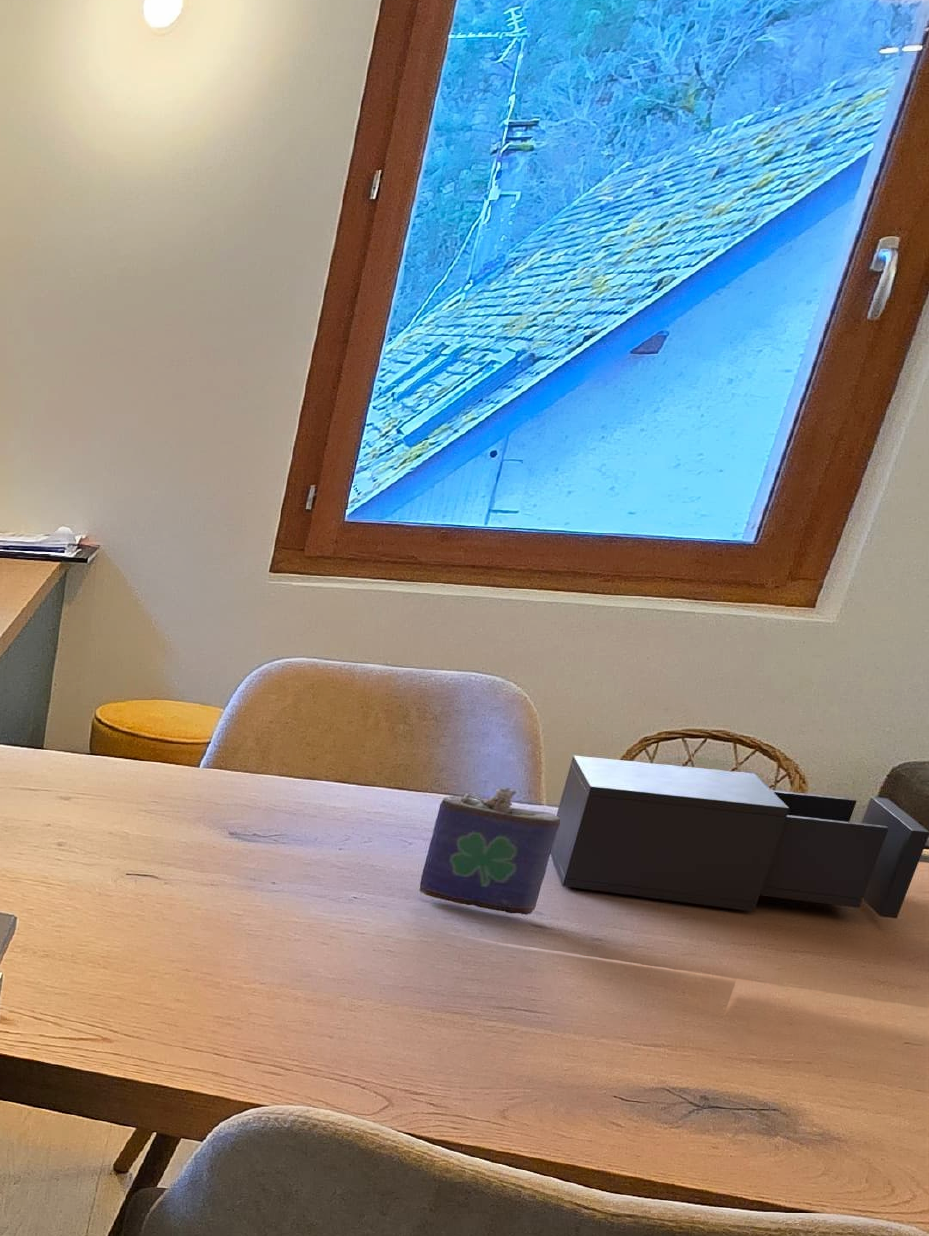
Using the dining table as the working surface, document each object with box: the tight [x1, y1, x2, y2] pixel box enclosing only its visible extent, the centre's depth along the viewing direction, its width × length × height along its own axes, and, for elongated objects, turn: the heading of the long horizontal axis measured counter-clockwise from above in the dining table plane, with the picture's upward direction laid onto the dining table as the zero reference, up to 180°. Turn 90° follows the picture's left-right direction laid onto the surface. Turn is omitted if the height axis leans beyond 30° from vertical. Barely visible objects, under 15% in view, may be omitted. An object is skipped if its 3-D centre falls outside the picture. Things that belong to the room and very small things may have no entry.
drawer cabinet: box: [550, 755, 789, 912], centre depth 128 cm, size 15×13×10 cm
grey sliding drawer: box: [760, 789, 929, 919], centre depth 123 cm, size 19×11×8 cm, turn 64°
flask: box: [418, 787, 560, 916], centre depth 121 cm, size 9×3×11 cm, turn 52°
